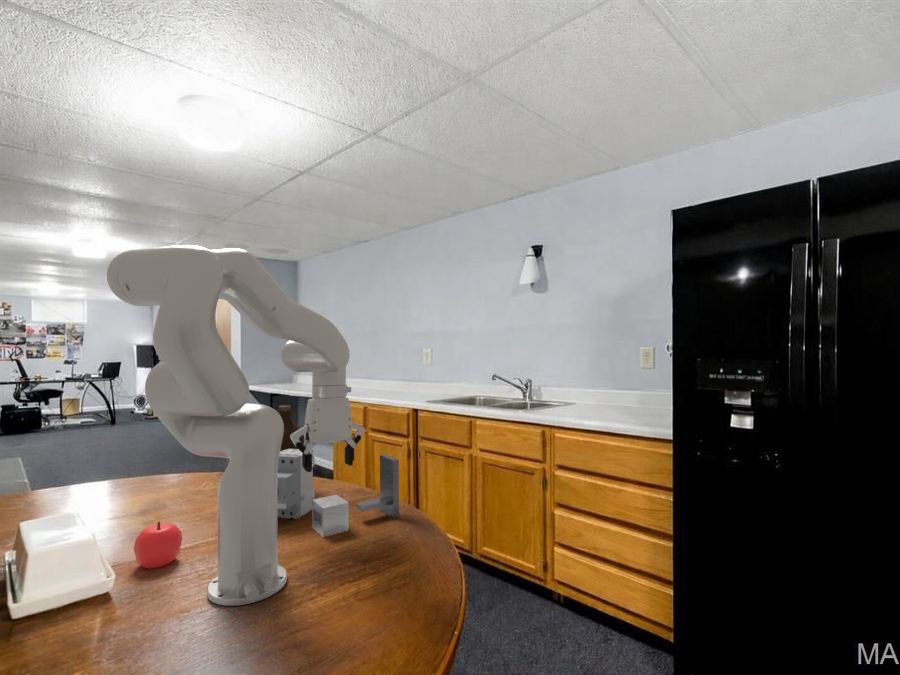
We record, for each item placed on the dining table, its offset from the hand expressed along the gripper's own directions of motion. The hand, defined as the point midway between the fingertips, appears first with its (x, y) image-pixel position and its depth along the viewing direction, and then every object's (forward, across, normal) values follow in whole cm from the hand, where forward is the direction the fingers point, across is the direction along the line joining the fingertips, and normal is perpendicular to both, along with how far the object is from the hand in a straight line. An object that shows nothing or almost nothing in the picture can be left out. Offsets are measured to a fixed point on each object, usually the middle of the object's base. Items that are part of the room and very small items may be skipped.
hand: (328, 467), depth 104 cm
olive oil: (+14, +1, -32) cm, 35 cm away
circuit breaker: (+14, +6, -14) cm, 21 cm away
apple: (+14, +32, -4) cm, 36 cm away
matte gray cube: (+14, 0, 0) cm, 14 cm away
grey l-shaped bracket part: (+14, -12, 0) cm, 18 cm away
